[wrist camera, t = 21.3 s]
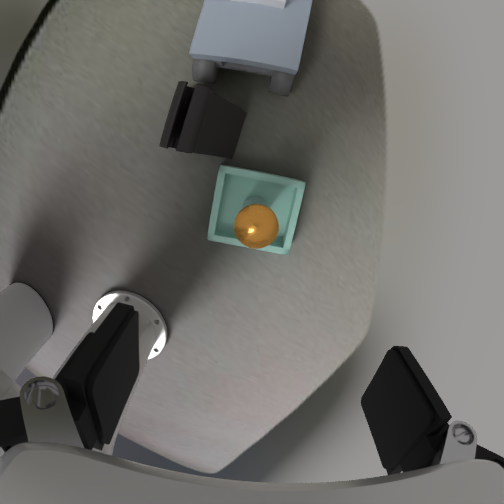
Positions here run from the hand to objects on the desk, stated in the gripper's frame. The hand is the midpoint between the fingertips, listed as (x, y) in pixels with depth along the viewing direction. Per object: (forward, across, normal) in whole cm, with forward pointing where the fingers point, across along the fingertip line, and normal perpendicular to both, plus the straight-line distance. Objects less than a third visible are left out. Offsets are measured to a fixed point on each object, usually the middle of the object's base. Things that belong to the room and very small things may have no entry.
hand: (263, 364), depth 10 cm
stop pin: (+28, 0, 0) cm, 28 cm away
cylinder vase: (+28, +38, +26) cm, 54 cm away
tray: (+28, 0, 0) cm, 28 cm away
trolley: (+28, +4, -22) cm, 36 cm away
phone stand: (+29, +8, -9) cm, 31 cm away
